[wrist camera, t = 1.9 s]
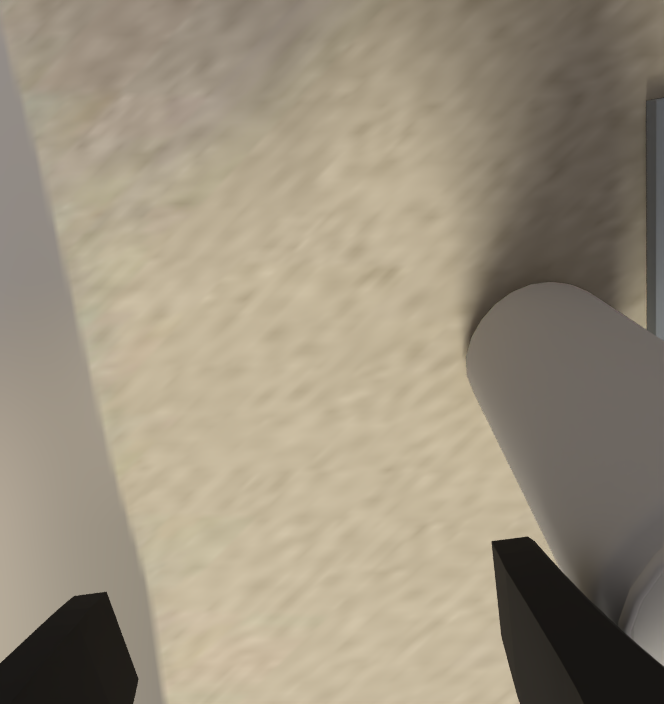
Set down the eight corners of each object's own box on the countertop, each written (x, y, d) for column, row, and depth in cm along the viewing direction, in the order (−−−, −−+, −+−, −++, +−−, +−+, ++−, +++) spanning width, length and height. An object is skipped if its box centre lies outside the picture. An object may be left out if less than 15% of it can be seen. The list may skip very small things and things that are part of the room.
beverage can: (457, 417, 21) (590, 755, 10) (466, 277, 19) (639, 486, 8) (601, 416, 21) (907, 759, 9) (622, 276, 19) (1024, 486, 8)
